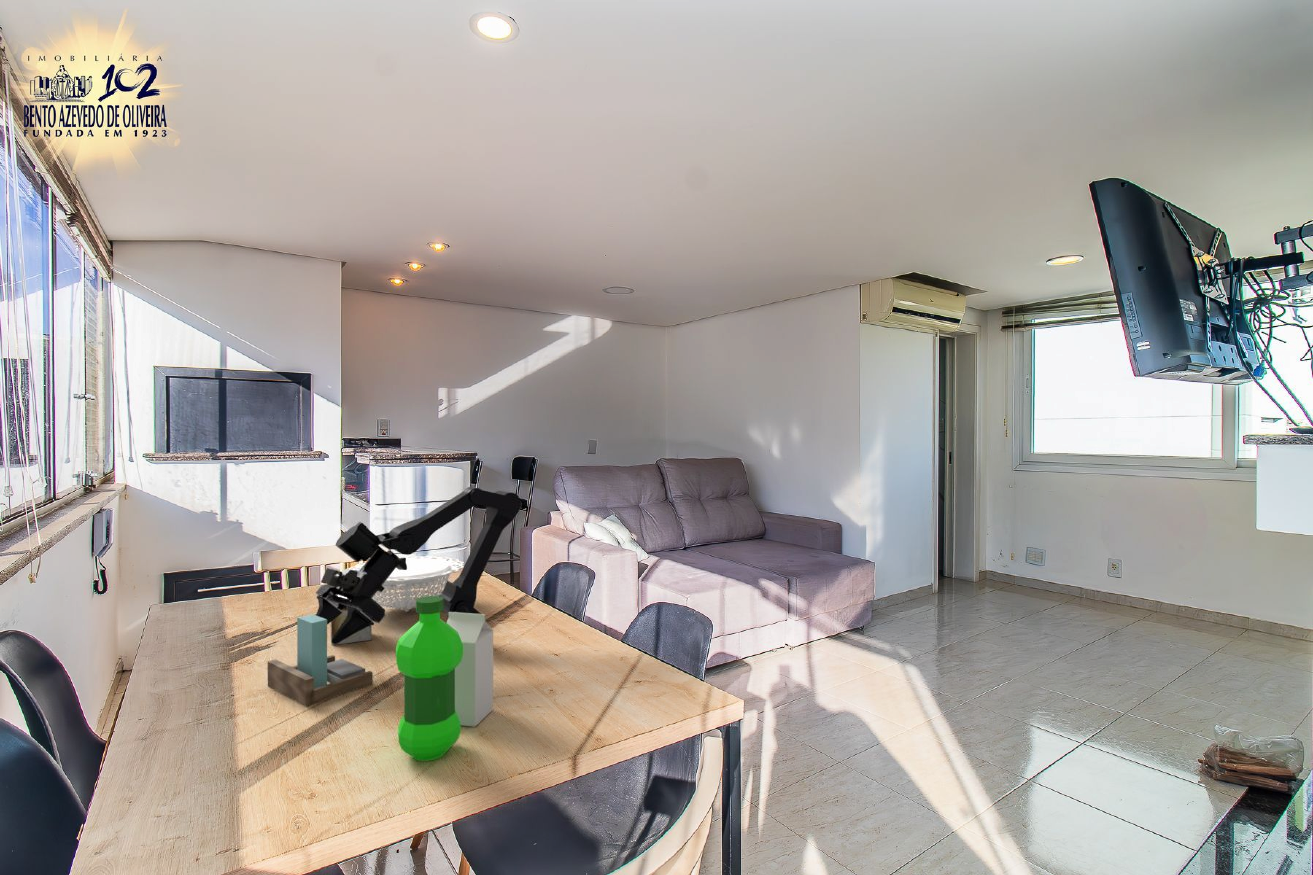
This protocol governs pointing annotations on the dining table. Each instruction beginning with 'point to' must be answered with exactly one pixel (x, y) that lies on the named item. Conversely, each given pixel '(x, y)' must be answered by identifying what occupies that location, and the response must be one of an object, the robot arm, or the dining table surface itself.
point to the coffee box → (358, 636)
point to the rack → (311, 683)
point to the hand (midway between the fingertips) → (321, 638)
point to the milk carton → (473, 668)
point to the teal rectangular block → (312, 648)
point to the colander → (416, 580)
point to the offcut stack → (342, 670)
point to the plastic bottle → (429, 683)
